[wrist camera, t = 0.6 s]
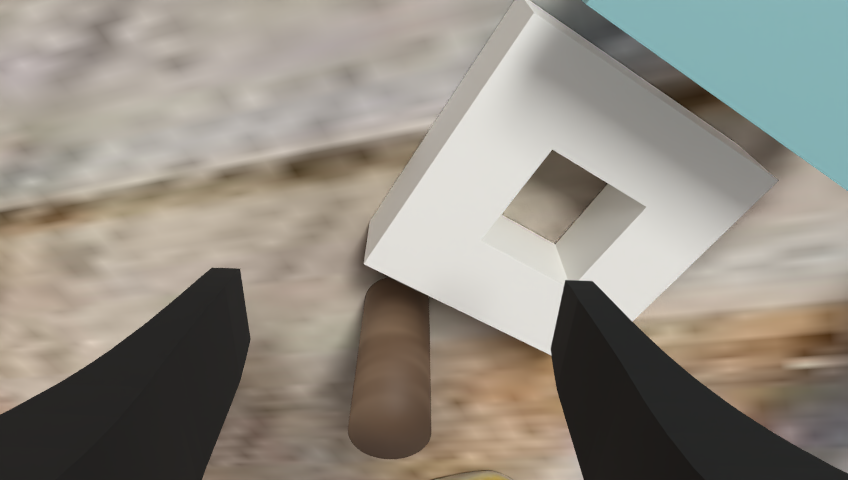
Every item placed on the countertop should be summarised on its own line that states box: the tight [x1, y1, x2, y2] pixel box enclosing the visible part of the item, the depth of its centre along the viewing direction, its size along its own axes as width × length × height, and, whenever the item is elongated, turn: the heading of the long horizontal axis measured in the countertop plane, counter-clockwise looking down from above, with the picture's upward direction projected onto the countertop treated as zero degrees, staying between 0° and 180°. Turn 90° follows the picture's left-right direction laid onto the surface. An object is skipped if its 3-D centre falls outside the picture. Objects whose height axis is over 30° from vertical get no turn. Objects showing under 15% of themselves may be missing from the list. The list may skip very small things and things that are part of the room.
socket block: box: [364, 0, 779, 356], centre depth 21 cm, size 10×10×3 cm
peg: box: [348, 277, 431, 459], centre depth 23 cm, size 3×3×7 cm
